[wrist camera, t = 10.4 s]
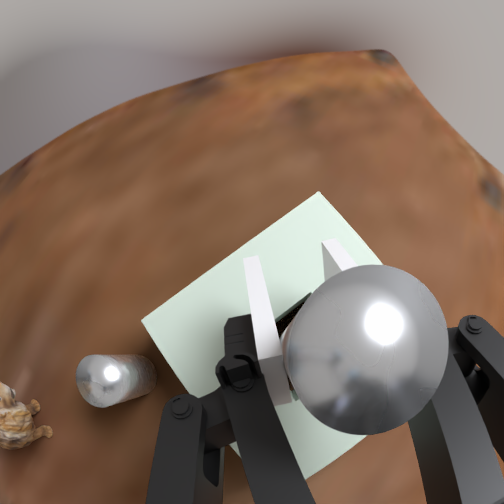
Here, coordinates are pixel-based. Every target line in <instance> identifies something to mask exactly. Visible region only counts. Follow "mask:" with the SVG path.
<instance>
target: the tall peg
mask: <svg viewBox="0 0 504 504" xmlns="http://www.w3.org/2000/svg"><path fill="white" fill-rule="evenodd" d="M279 340H280V344H281V348H282V360H283V365H284V368H285V371H286V373H287V375H288V377H289V379H290V381H291V383H292V385H293V387H294V389H295V391H296V393H297V395H298V397H299V399H300V401H301V402H302V404H303V405H304V406H305V408H306V409H307V410H308V411H309V412H310V413H311V414H312V415H313V416H314V417H315V418H316V419H317V420H319V421H320V422H321V423H323V424H324V425H326V426H328V427H330V428H332V429H334V430H337V431H339V432H342V433H347V434H352V435H373V434H378V433H383V432H386V431H389V430H392V429H394V428H396V427H398V426H400V425H402V424H404V423H406V422H407V421H408V420H410V419H411V418H413V417H414V416H415V415H416V414H417V413H419V412H420V411H421V410H422V409H423V408H424V406H425V405H426V404H427V403H428V402H429V400H430V399H431V398H432V396H433V395H434V393H435V392H436V390H437V388H438V386H439V384H440V382H441V379H442V377H443V374H444V371H445V367H446V364H447V357H448V344H449V341H448V331H447V326H446V321H445V318H444V315H443V312H442V310H441V308H440V306H439V304H438V302H437V300H436V299H435V297H434V296H433V294H432V293H431V292H430V291H429V290H428V288H427V287H426V286H425V285H424V284H423V283H421V282H420V281H419V280H418V279H416V278H415V277H414V276H412V275H411V274H409V273H407V272H405V271H403V270H400V269H397V268H394V267H391V266H385V265H374V264H371V265H361V266H357V267H352V268H349V269H347V270H344V271H341V272H340V273H338V274H336V275H334V276H332V277H331V278H329V279H328V280H326V281H325V282H324V283H322V284H321V285H320V286H319V287H318V288H317V289H316V290H315V291H314V292H313V293H312V294H311V295H310V297H309V298H308V299H307V300H306V302H305V303H304V305H303V306H302V307H301V309H300V310H299V312H298V313H297V314H296V316H295V317H294V318H293V320H292V321H291V323H290V324H289V325H288V327H287V328H286V329H285V331H284V332H283V334H282V335H281V337H280V339H279Z"/></svg>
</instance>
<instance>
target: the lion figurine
mask: <svg viewBox="0 0 504 504" xmlns="http://www.w3.org/2000/svg"><path fill="white" fill-rule="evenodd" d="M15 395H16V393H15V390H14V389H11V388H9V387H8V386H6V385H5V384H3V383H1V381H0V447H2V448H6V449H9V450H14V449H20V448H22V447H26V446H28V445H30V444H31V442H32V441H34V440H36V439H38V438H40V437H41V436H46V437H47V438H51V437H52V435H53V431H52V429H51V427H50V426H44V425H42V426H40V427H38V428H36V427H35V425H34V422H33V418H32V416H31V415H34V414H36V413H37V412H39V411H40V404H39V403H38V402H37V401H36V400H35V399H33V400H32V401H31V403H30V404H28V405H24V404H23V403H21V402H19V401H15Z"/></svg>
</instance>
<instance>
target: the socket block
mask: <svg viewBox="0 0 504 504" xmlns="http://www.w3.org/2000/svg"><path fill="white" fill-rule="evenodd" d="M333 238H336V239H337V240H338V241H339V243H340V244H341V245H342V246H343V248H344V249H345V250H346V251H347V253H348V254H349V255H350V256H351V258H352V259H353V260H354V261H355V263H356V264H357V265H358V266H361V265H371V264H374V265H383V264H382V263H381V261H380V260H379V259H378V258H377V257H376V255H375V254H374V253H373V252H372V251H371V249H370V248H369V247H368V246H367V245H366V244H365V242H364V241H363V240H362V239H361V238H360V237H359V235H358V234H357V233H356V232H355V231H354V230H353V229H352V227H351V226H350V225H349V224H348V223H347V222H346V221H345V219H344V218H343V217H342V216H341V215H340V214H339V213H338V212H337V211H336V210H335V208H334V207H333V206H332V205H331V204H330V203H329V202H328V201H327V200H326V199H325V198H324V197H323V195H322V194H321V193H320V192H317V193H316V194H314V195H313V196H311V197H310V198H309V199H307V200H306V201H304V202H303V203H302V204H300V205H299V206H297V207H296V208H295V209H293V210H292V211H291V212H289V213H288V214H286V215H285V216H284V217H282V218H281V219H279V220H278V221H277V222H275V223H274V224H272V225H271V226H270V227H268V228H267V229H265V230H264V231H263V232H261V233H260V234H259V235H257V236H256V237H254V238H253V239H252V240H250V241H249V242H247V243H246V244H245V245H243V246H242V247H241V248H239V249H238V250H236V251H235V252H234V253H232V254H231V255H230V256H228V257H227V258H225V259H224V260H223V261H221V262H220V263H219V264H217V265H216V266H214V267H213V268H212V269H210V270H209V271H208V272H206V273H205V274H203V275H202V276H201V277H199V278H198V279H197V280H195V281H194V282H193V283H191V284H190V285H188V286H187V287H186V288H184V289H183V290H182V291H180V292H179V293H178V294H176V295H175V296H173V297H172V298H171V299H169V300H168V301H167V302H165V303H164V304H163V305H161V306H160V307H159V308H157V309H156V310H154V311H153V312H152V313H150V314H149V315H148V316H146V317H145V318H144V319H142V320H141V321H142V322H143V324H144V326H145V327H146V329H147V331H148V332H149V334H150V336H151V337H152V339H153V340H154V342H155V344H156V345H157V347H158V348H159V350H160V351H161V353H162V354H163V356H164V357H165V359H166V360H167V362H168V363H169V365H170V366H171V368H172V369H173V371H174V372H175V374H176V375H177V377H178V378H179V380H180V381H181V382H182V384H183V385H184V387H185V388H186V389H187V391H188V392H189V394H192V395H194V396H196V397H197V398H200V397H202V396H205V395H207V394H209V393H211V392H213V391H215V390H216V389H217V388H219V387H220V383H219V381H218V379H217V376H216V374H215V367H216V365H217V363H218V362H219V360H221V359H222V358H223V357H224V356H225V349H224V346H225V345H224V326H225V324H226V322H227V320H228V318H232V317H237V316H242V315H246V314H251V310H250V303H249V296H248V290H247V283H246V276H245V269H244V263H243V258H247V257H252V256H256V255H259V259H260V263H261V267H262V271H263V275H264V279H265V283H266V287H267V291H268V295H269V300H270V304H271V308H272V312H273V316H274V320H275V323H276V322H278V321H279V320H280V319H282V318H283V317H284V316H286V315H287V314H288V313H290V312H291V311H292V310H293V309H295V308H296V307H297V306H299V305H300V304H301V303H302V302H304V303H305V302H306V300H307V299H308V298H309V297H310V295H311V294H312V293H313V292H314V291H315V290H316V289H317V288H318V287H319V286H320V285H321V284H322V283H324V282H325V278H324V266H323V254H322V244H321V241H324V240H329V239H333ZM290 394H291V399H292V403H287V404H283V405H278V406H274V407H275V410H276V412H277V415H278V417H279V419H280V422H281V424H282V427H283V429H284V432H285V434H286V436H287V439H288V441H289V444H290V446H291V448H292V451H293V453H294V455H295V458H296V460H297V462H298V465H299V467H300V469H301V472H302V474H303V476H304V479H307V478H308V477H310V476H312V475H313V474H315V473H316V472H318V471H319V470H321V469H322V468H324V467H325V466H327V465H328V464H330V463H331V462H332V461H334V460H335V459H337V458H338V457H339V456H341V455H342V454H344V453H345V452H346V451H348V450H349V449H350V448H352V447H353V446H354V445H355V444H357V443H358V442H359V441H361V440H362V439H363V438H364V437H366V436H367V435H352V434H347V433H342V432H339V431H337V430H334V429H332V428H330V427H328V426H326V425H324V424H323V423H321V422H320V421H319V420H317V419H316V418H315V417H314V416H313V415H312V414H311V413H310V412H309V411H308V410H307V409H306V408H305V406H304V405H303V404H302V402H301V401H300V399H299V397H298V395H297V393H296V391H295V389H294V390H292V391H291V390H290ZM229 445H230V446H231V447H232V448H233V449H234V450H235V452H236V453H237V454H238V455H239V456H240V453H239V449H238V446H237V442H234V443H231V444H229ZM240 457H241V456H240Z"/></svg>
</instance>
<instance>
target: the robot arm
mask: <svg viewBox="0 0 504 504" xmlns="http://www.w3.org/2000/svg"><path fill="white" fill-rule="evenodd" d="M321 244H322V254H323V266H324V278H325V281H326V280H328V279H329V278H331V277H332V276H334V275H336V274H338V273H340V272H341V271H344V270H347V269H349V268H352V267H357V266H358V265H357V264H356V263H355V261H354V260H353V259H352V258H351V256H350V255H349V254H348V253H347V251H346V250H345V249H344V248H343V246H342V245H341V244H340V243H339V241H338V240H337V239H336V238H333V239H329V240H324V241H321ZM243 263H244V269H245V276H246V283H247V290H248V296H249V303H250V310H251V314H246V315H242V316H237V317H232V318H228V320H227V322H226V324H225V326H224V345H225V346H224V349H225V356H224V357H223V358H222V359H221V360H219V362H218V363H217V365H216V367H215V374H216V376H217V379H218V381H219V383H220V387H219V388H217V389H216V390H215V391H213V392H211V393H209V394H207V395H205V396H202V397H200V398H197V397H196V396H194V395H192V394H181V395H177V396H175V397H173V398H171V399H170V400H169V401H168V402H167V403H166V404H165V407H164V409H163V412H162V417H161V422H160V427H159V432H158V437H157V442H156V447H155V453H154V458H153V463H152V469H151V475H150V480H149V486H148V492H147V498H146V504H222V502H223V474H224V449H225V446H227V445H229V444H231V443H234V442H237V446H238V449H239V453H240V456H241V460H242V463H243V467H244V470H245V473H246V476H247V480H248V483H249V486H250V489H251V492H252V496H253V499H254V502H255V504H316V503H315V501H314V499H313V497H312V494H311V492H310V490H309V488H308V485H307V483H306V481H305V479H304V476H303V474H302V472H301V469H300V467H299V465H298V462H297V460H296V458H295V455H294V453H293V451H292V448H291V446H290V444H289V441H288V439H287V436H286V434H285V432H284V429H283V427H282V424H281V422H280V419H279V417H278V415H277V412H276V410H275V407H274V406H278V405H283V404H287V403H292V399H291V394H290V389H289V383H288V378H287V373H286V371H285V368H284V365H283V360H282V348H281V344H280V340H279V336H278V332H277V328H276V324H275V320H274V316H273V312H272V308H271V304H270V300H269V295H268V291H267V287H266V283H265V279H264V275H263V271H262V267H261V263H260V259H259V255H256V256H252V257H247V258H243ZM447 331H448V341H449V344H448V357H447V364H446V367H445V371H444V374H443V377H442V379H441V382H440V384H439V386H438V388H437V390H436V392H435V393H434V395H433V396H432V398H431V399H430V400H429V402H428V403H427V404H426V405H425V406H424V408H423V409H422V410H421V411H420V412H419V413H417V414H416V415H415V416H414V417H413V418H411V419H410V420H408V424H409V428H410V431H411V435H412V439H413V443H414V447H415V451H416V455H417V459H418V463H419V467H420V472H421V476H422V481H423V486H424V491H425V496H426V501H427V504H504V479H503V476H502V472H501V469H500V466H499V463H498V460H497V457H496V454H495V451H494V448H495V450H496V451H497V453H498V454H499V456H500V457H501V459H502V460H503V462H504V338H503V337H502V336H501V335H500V334H499V333H498V332H497V331H496V330H495V329H494V328H493V327H492V326H491V325H490V324H489V323H488V322H487V321H486V320H484V319H483V318H481V317H479V316H476V315H468V316H465V317H463V318H462V319H461V320H460V322H459V325H458V327H454V328H447ZM476 363H477V364H478V365H479V367H480V368H479V367H477V366H476ZM493 447H494V448H493Z"/></svg>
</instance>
